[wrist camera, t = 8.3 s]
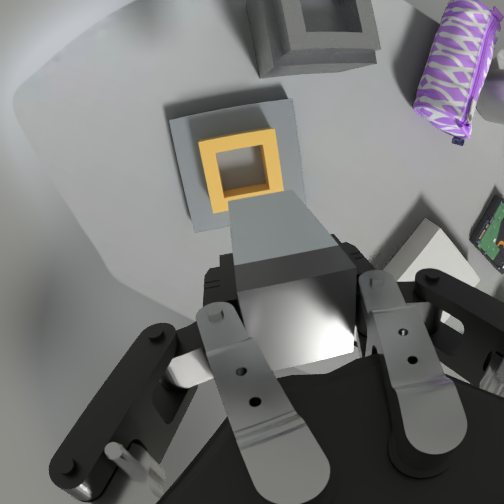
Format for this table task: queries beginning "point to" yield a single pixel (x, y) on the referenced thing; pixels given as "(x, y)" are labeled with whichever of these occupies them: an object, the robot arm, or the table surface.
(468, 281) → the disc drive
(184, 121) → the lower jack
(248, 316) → the plug
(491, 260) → the disk drive
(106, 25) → the table surface
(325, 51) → the grey open sleeve
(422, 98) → the pencil case
